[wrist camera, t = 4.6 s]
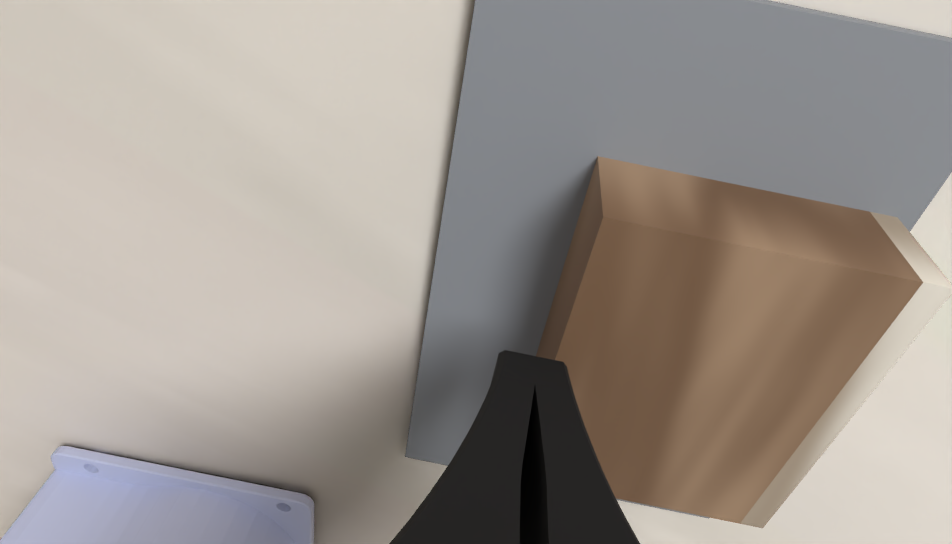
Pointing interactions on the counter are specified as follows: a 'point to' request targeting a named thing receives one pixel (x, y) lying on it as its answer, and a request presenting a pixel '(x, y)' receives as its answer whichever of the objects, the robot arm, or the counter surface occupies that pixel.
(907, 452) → the counter surface
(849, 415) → the slab
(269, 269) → the counter surface
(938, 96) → the mat
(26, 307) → the counter surface
